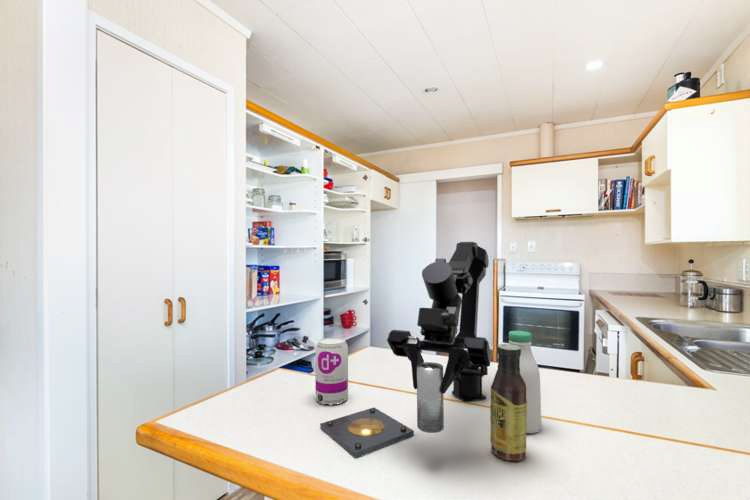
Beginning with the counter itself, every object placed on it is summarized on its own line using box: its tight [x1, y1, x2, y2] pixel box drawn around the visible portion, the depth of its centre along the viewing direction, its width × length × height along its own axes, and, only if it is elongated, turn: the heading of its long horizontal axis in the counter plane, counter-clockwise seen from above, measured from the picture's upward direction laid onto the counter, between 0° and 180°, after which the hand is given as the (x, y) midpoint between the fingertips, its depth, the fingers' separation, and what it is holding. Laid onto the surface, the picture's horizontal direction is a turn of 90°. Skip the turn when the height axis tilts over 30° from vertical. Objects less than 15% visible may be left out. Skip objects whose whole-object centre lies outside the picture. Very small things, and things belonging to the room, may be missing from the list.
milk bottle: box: [508, 330, 542, 434], centre depth 76 cm, size 8×8×20 cm
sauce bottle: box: [489, 343, 527, 462], centre depth 66 cm, size 6×6×20 cm
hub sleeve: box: [416, 361, 445, 434], centre depth 63 cm, size 5×5×11 cm
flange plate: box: [319, 407, 415, 459], centre depth 74 cm, size 14×14×1 cm
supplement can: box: [315, 337, 349, 405], centre depth 91 cm, size 8×8×15 cm
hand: (428, 390), depth 62 cm, fingers closed on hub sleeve, 5 cm apart
